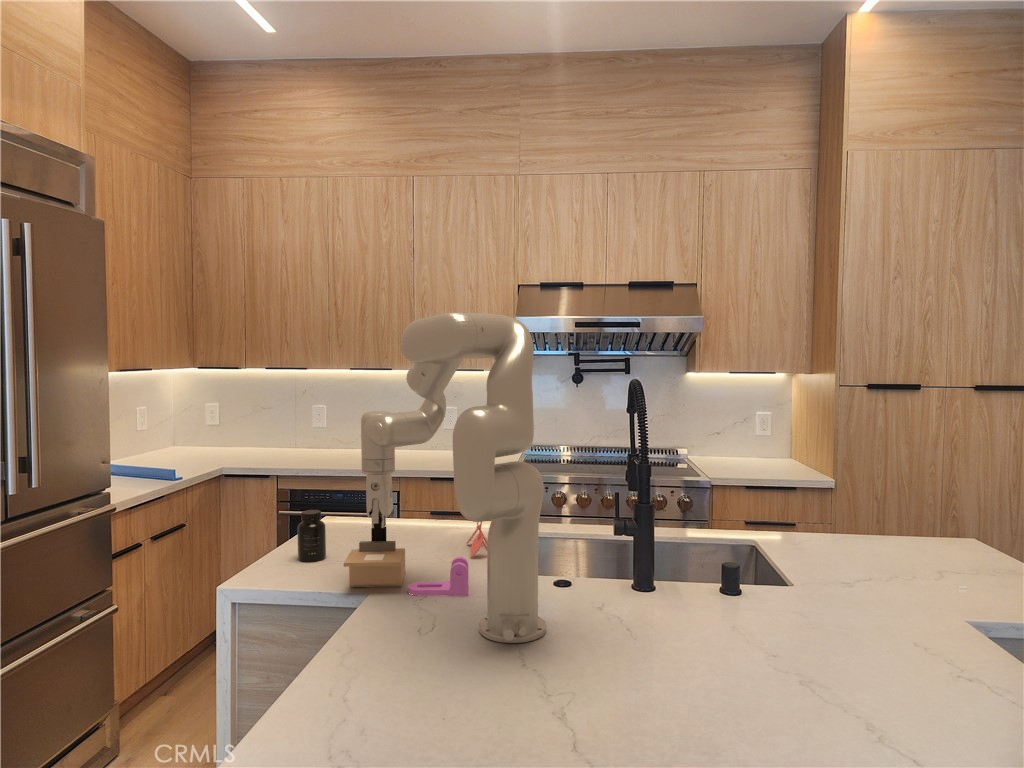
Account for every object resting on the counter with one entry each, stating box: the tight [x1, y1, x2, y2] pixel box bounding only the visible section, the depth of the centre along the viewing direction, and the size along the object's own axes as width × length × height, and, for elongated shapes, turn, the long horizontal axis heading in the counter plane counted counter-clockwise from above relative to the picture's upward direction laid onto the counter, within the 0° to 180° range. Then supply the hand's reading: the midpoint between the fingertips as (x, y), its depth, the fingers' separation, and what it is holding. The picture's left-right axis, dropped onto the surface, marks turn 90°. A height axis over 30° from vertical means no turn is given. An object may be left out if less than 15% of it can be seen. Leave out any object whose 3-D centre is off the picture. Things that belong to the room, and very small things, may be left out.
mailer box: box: [348, 547, 406, 588], centre depth 157 cm, size 9×11×6 cm
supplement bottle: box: [296, 509, 327, 563], centre depth 173 cm, size 7×7×12 cm
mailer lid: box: [343, 540, 406, 568], centre depth 152 cm, size 10×12×3 cm
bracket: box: [407, 556, 469, 596], centre depth 150 cm, size 13×6×7 cm, turn 92°
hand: (379, 544), depth 158 cm, fingers closed
